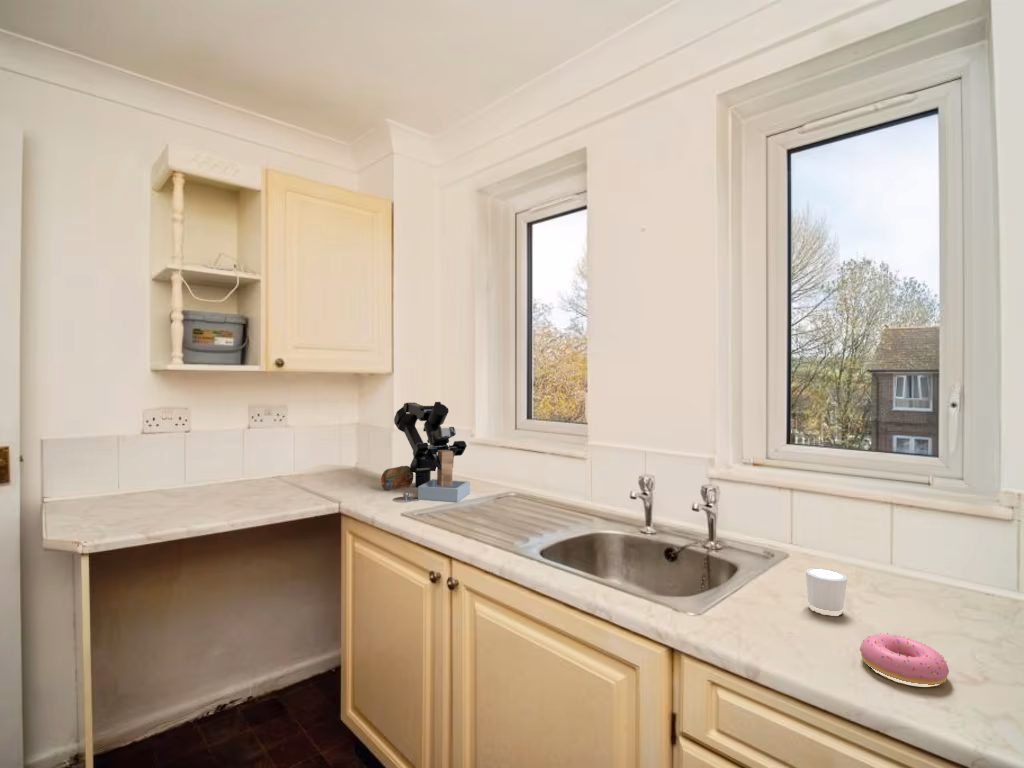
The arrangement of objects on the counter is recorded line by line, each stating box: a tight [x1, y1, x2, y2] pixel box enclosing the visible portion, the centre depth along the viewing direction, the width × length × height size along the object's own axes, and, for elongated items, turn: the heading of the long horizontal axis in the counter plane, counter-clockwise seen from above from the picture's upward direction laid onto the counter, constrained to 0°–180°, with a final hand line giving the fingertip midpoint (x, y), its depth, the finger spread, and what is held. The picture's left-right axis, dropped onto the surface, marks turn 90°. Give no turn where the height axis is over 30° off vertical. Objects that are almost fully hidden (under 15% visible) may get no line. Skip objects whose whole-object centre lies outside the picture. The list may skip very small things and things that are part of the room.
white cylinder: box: [805, 567, 848, 611], centre depth 104 cm, size 7×7×7 cm
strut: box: [436, 450, 454, 487], centre depth 192 cm, size 4×4×12 cm
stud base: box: [392, 491, 419, 504], centre depth 186 cm, size 9×9×3 cm
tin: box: [380, 465, 414, 491], centre depth 206 cm, size 15×3×8 cm, turn 148°
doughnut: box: [859, 632, 950, 685], centre depth 83 cm, size 11×11×4 cm
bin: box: [417, 478, 471, 503], centre depth 192 cm, size 14×14×5 cm
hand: (446, 468), depth 191 cm, fingers closed on strut, 4 cm apart
